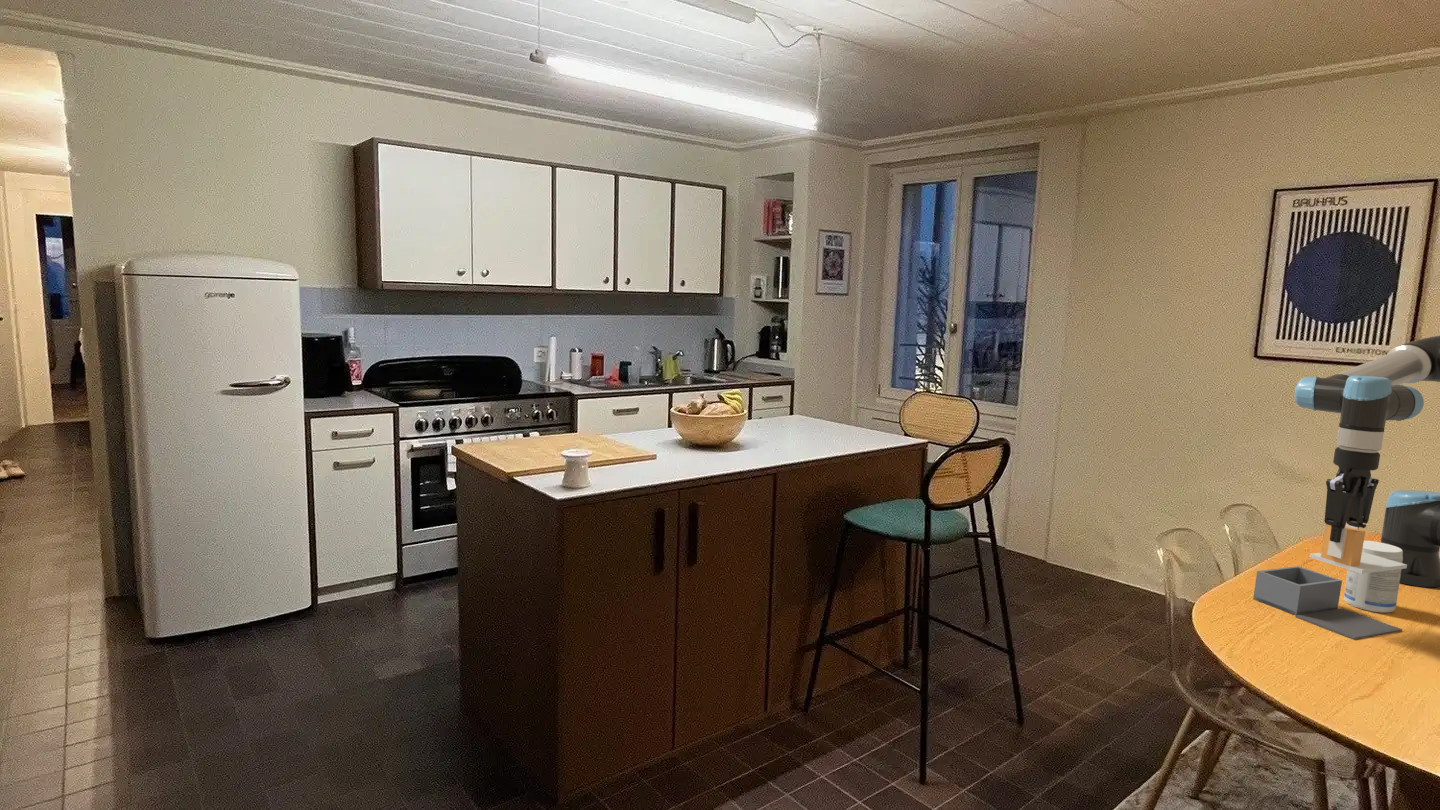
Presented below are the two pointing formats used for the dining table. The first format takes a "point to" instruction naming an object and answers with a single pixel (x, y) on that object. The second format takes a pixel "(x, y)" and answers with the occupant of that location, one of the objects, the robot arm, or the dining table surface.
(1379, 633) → the mat
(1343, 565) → the lid
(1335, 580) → the box
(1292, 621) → the dining table surface
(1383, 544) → the supplement tub
